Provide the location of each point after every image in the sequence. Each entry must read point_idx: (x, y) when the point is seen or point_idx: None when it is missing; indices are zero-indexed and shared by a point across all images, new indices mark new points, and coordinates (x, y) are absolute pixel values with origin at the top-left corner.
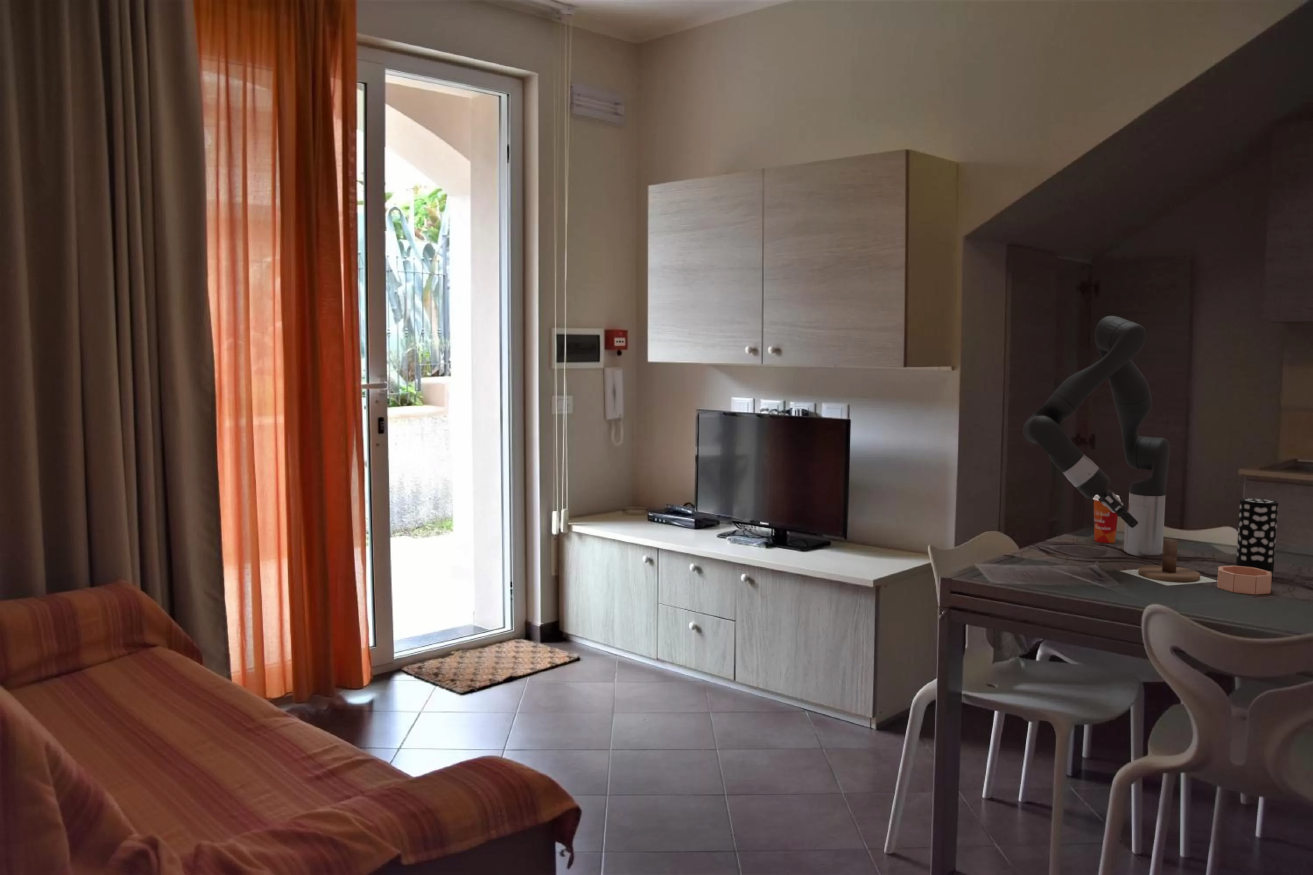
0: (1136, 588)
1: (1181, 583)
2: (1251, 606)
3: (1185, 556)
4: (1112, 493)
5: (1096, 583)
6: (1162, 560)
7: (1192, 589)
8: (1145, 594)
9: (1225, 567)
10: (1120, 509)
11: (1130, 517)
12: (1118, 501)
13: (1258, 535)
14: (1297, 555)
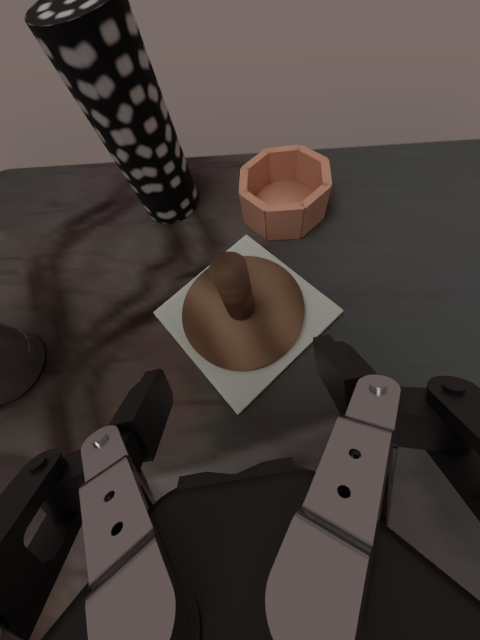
0: (384, 371)
1: (305, 287)
2: (395, 193)
3: (26, 295)
4: (361, 617)
5: (394, 474)
6: (239, 310)
7: (317, 272)
8: (436, 351)
9: (263, 202)
10: (142, 432)
11: (368, 365)
12: (388, 469)
13: (165, 111)
14: (2, 173)
